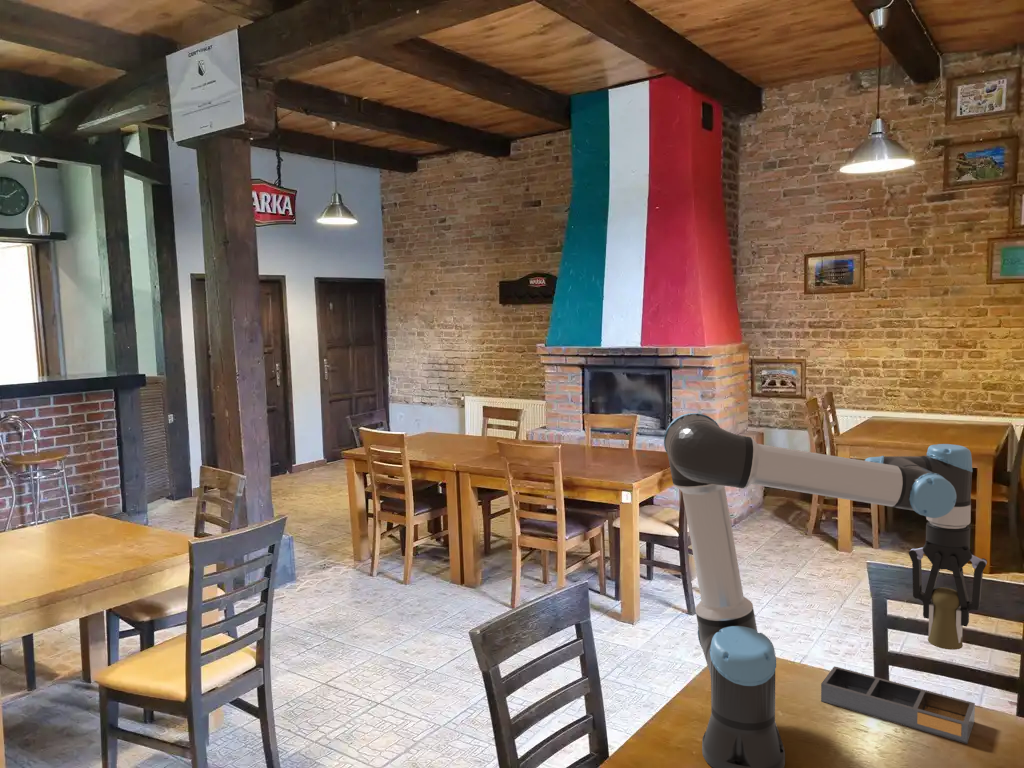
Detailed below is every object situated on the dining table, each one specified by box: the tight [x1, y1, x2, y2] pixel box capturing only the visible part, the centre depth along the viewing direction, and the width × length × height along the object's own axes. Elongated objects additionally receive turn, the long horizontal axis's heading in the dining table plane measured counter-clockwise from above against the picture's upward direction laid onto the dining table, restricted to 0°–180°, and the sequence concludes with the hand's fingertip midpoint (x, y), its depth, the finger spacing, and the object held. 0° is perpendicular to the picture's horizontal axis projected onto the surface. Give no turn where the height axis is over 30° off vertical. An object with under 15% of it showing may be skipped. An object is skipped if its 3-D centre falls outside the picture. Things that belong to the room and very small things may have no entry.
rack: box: [820, 666, 976, 745], centre depth 155 cm, size 27×10×4 cm, turn 51°
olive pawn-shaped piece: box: [927, 587, 964, 651], centre depth 148 cm, size 6×6×11 cm
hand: (945, 636), depth 148 cm, fingers closed on olive pawn-shaped piece, 4 cm apart
